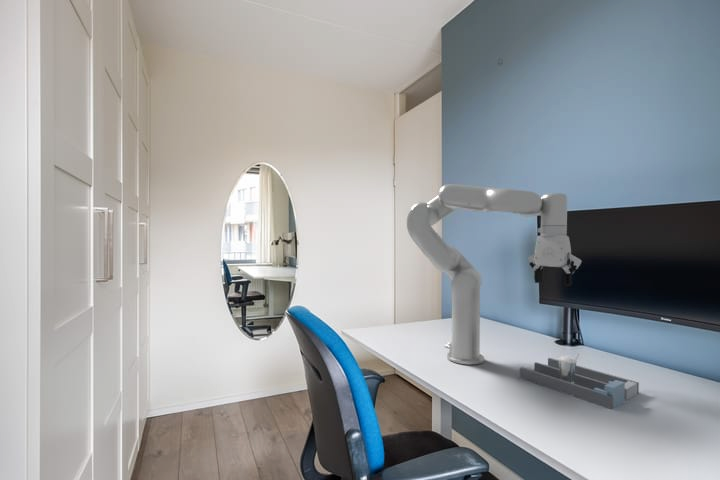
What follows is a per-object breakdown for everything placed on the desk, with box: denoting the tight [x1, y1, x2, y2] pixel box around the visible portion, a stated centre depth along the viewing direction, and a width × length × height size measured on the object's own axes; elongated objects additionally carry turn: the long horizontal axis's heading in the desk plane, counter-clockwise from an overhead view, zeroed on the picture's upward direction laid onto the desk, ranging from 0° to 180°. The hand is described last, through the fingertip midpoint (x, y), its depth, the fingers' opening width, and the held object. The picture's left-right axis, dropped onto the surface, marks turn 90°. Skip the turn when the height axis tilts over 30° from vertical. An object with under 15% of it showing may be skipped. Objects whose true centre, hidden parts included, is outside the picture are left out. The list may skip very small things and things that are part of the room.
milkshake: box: [557, 353, 580, 384], centre depth 105 cm, size 4×5×10 cm
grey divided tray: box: [519, 357, 640, 410], centre depth 107 cm, size 25×17×5 cm
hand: (552, 284), depth 119 cm, fingers open, 9 cm apart
